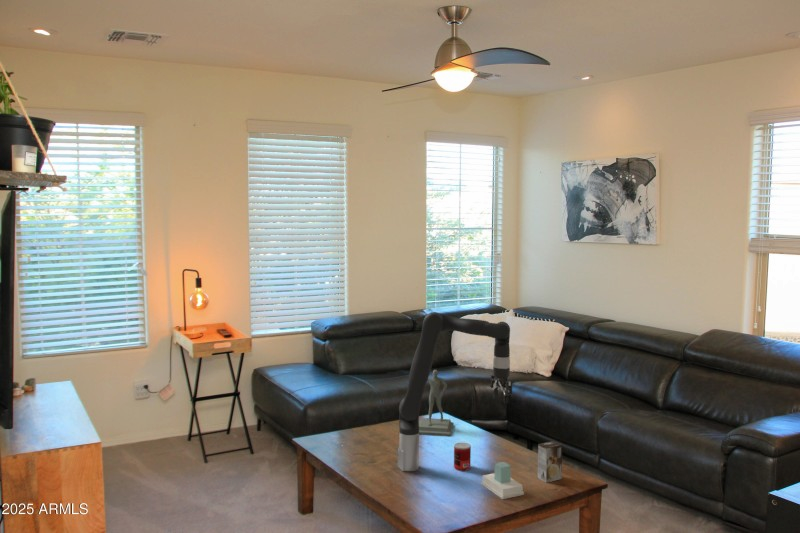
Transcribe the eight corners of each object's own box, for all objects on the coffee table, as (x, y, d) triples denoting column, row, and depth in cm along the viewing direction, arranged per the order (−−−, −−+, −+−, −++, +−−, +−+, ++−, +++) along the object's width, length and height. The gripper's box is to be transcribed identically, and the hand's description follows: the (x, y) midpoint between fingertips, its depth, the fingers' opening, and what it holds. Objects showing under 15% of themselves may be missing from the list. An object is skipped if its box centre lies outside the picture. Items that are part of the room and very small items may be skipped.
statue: (412, 434, 359) (413, 369, 355) (417, 422, 378) (418, 361, 375) (450, 436, 355) (451, 371, 352) (453, 425, 374) (454, 363, 371)
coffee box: (552, 474, 305) (553, 440, 304) (562, 479, 299) (563, 444, 298) (536, 478, 301) (537, 443, 299) (546, 483, 295) (547, 448, 294)
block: (500, 483, 285) (501, 467, 284) (494, 479, 289) (494, 463, 289) (510, 481, 287) (510, 465, 286) (503, 477, 291) (504, 461, 291)
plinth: (502, 499, 278) (502, 490, 278) (481, 483, 294) (481, 475, 293) (524, 494, 283) (524, 485, 283) (502, 479, 298) (502, 471, 298)
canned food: (472, 466, 314) (472, 443, 313) (467, 472, 307) (467, 449, 306) (457, 463, 317) (457, 441, 316) (451, 469, 310) (451, 446, 309)
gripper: (486, 363, 307) (485, 397, 309) (503, 370, 294) (502, 405, 296) (499, 361, 310) (499, 395, 312) (517, 368, 297) (516, 403, 299)
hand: (500, 400), depth 304 cm, fingers open, 8 cm apart
